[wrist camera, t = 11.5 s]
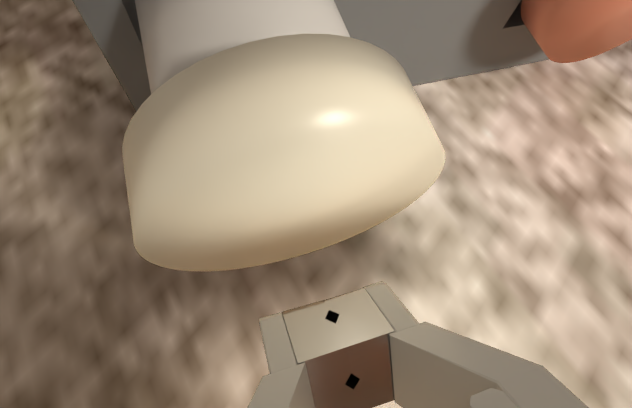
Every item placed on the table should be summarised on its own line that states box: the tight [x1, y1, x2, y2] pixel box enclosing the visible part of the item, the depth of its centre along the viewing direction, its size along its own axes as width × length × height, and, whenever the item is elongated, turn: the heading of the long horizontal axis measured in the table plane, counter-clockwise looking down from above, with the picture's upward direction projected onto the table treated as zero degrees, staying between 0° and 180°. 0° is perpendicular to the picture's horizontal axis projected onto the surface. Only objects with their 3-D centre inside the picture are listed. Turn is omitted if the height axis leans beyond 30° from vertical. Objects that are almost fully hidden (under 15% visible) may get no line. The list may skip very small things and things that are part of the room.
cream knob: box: [122, 0, 446, 272], centre depth 10 cm, size 7×8×7 cm
